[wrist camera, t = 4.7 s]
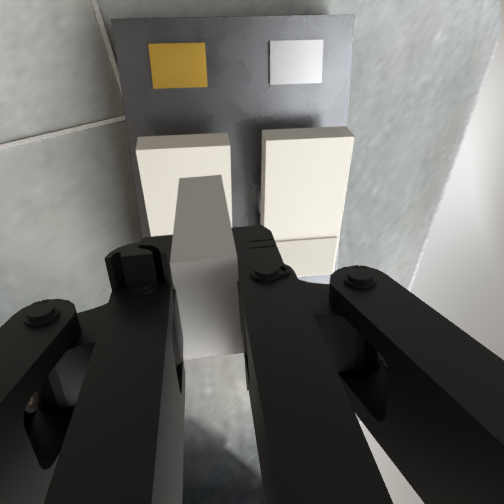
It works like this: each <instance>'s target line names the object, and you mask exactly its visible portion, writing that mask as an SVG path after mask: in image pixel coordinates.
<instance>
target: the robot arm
mask: <svg viewBox="0 0 504 504" xmlns="http://www.w3.org/2000/svg"><path fill="white" fill-rule="evenodd" d="M105 262H106V267H107V271H108V275H109V280H110V284H111V288H112V293H111V296H110V299H109V302H108V303H107V304H105V305H103V306H100V307H97V308H94V309H90V310H87V311H83V312H80V313H77V312H76V309H75V305H74V304H73V303H72V302H70V301H68V300H62V299H52V300H49V299H47V300H42V301H41V302H40V301H38V302H35V303H33V304H31V305H29V306H27V307H25V308H23V309H21V310H20V311H18V312H17V313H16V314H14V315H13V316H12V317H11V318H10V319H9V320H8V321H7V322H6V323H5V324H4V325H3V326H1V327H0V504H182V490H183V449H184V407H185V369H184V362H183V351H184V358H185V360H187V359H195V358H204V357H212V356H221V355H229V354H237V353H244V357H245V370H246V383H247V390H249V395H250V402H251V408H252V415H253V422H254V428H255V435H256V442H257V449H258V455H259V462H260V469H261V475H262V482H263V489H264V495H265V502H266V504H393V502H392V500H391V498H390V495H389V493H388V490H387V488H386V486H385V483H384V481H383V478H382V476H381V474H380V471H379V469H378V467H377V464H376V462H375V460H374V457H373V455H372V452H371V450H370V448H369V445H368V443H367V441H366V438H365V436H364V434H363V431H362V429H361V427H360V424H359V422H358V419H357V417H356V415H355V413H356V414H357V416H358V417H359V418H360V420H361V421H362V422H363V424H364V425H365V426H366V428H367V429H368V430H369V431H370V433H371V434H372V435H373V437H374V438H375V439H376V441H377V442H378V443H379V444H380V446H381V447H382V448H383V450H384V451H385V452H386V454H387V455H388V456H389V458H390V459H391V460H392V461H393V463H394V464H395V465H396V466H397V468H398V469H399V471H400V472H401V473H402V475H403V476H404V477H405V478H406V480H407V481H408V482H409V484H410V485H411V486H412V488H413V489H414V490H415V491H416V493H417V494H418V495H419V497H420V498H421V499H422V501H423V502H424V503H425V504H504V360H502V359H501V358H500V357H498V356H497V355H496V354H494V353H493V352H491V351H490V350H489V349H487V348H486V347H485V346H483V345H482V344H480V343H479V342H478V341H476V340H475V339H474V338H472V337H471V336H470V335H468V334H467V333H465V332H464V331H462V330H461V329H460V328H459V327H457V326H456V325H455V324H453V323H452V322H450V321H449V320H448V319H446V318H445V317H444V316H442V315H441V314H440V313H438V312H437V311H435V310H434V309H433V308H431V307H430V306H429V305H427V304H426V303H425V302H423V301H422V300H420V299H419V298H418V297H416V296H415V295H414V294H412V293H411V292H409V291H408V290H407V289H405V288H404V287H403V286H401V285H400V284H399V283H397V282H396V281H394V280H393V279H392V278H390V277H389V276H388V275H386V274H385V273H383V272H381V271H379V270H377V269H374V268H370V267H367V266H359V265H355V266H350V267H343V268H341V269H338V270H336V271H334V272H333V273H332V274H331V275H330V284H322V283H312V282H306V281H302V280H299V279H298V278H297V276H296V273H295V271H294V270H293V269H292V268H291V267H290V266H288V265H286V264H284V262H283V260H282V257H281V255H280V252H279V250H278V247H277V245H276V242H275V240H274V237H273V235H272V232H271V230H269V229H267V228H266V227H264V226H263V225H254V226H243V227H233V228H231V223H230V217H229V212H228V207H227V202H226V197H225V192H224V187H223V181H222V176H221V175H211V176H200V177H188V178H179V185H178V194H177V203H176V212H175V221H174V230H173V235H162V236H152V237H145V238H144V239H142V240H141V241H140V242H139V243H134V244H129V245H125V246H122V247H119V248H117V249H115V250H113V251H112V252H110V253H109V254H108V255H107V256H106V257H105ZM32 396H33V398H34V402H33V403H32V404H31V406H30V407H29V408H28V409H27V410H25V408H26V406H27V404H28V402H29V400H30V398H31V397H32Z"/></svg>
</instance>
